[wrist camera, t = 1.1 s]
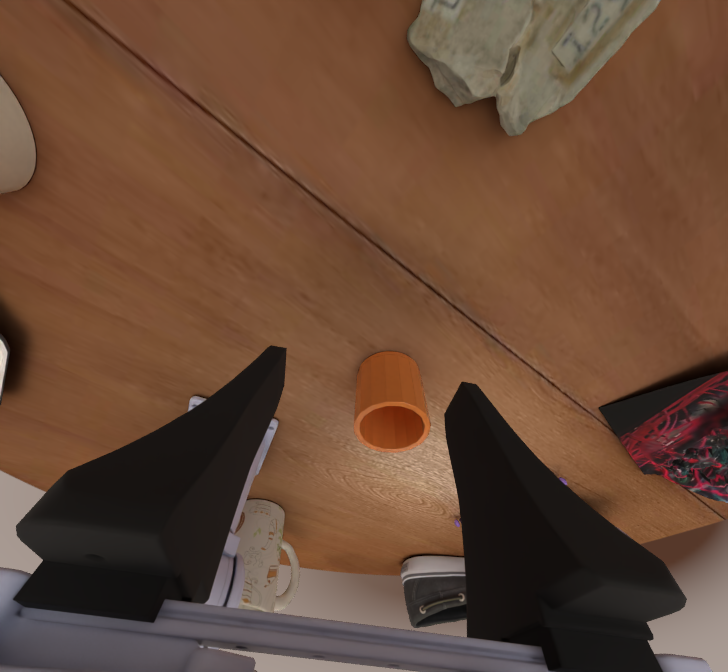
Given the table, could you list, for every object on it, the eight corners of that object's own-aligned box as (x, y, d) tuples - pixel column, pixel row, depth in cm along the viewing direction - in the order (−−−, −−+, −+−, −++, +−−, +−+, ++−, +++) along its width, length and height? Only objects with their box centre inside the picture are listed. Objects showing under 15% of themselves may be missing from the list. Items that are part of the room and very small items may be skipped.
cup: (402, 405, 27) (407, 459, 22) (348, 387, 26) (342, 440, 21) (431, 363, 24) (444, 416, 20) (372, 342, 23) (372, 392, 19)
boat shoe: (583, 557, 43) (624, 639, 36) (556, 581, 48) (588, 657, 41) (405, 545, 42) (411, 626, 35) (396, 570, 47) (400, 646, 40)
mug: (257, 485, 35) (220, 594, 27) (330, 527, 40) (318, 630, 32) (214, 507, 38) (169, 611, 30) (287, 544, 43) (266, 641, 35)
